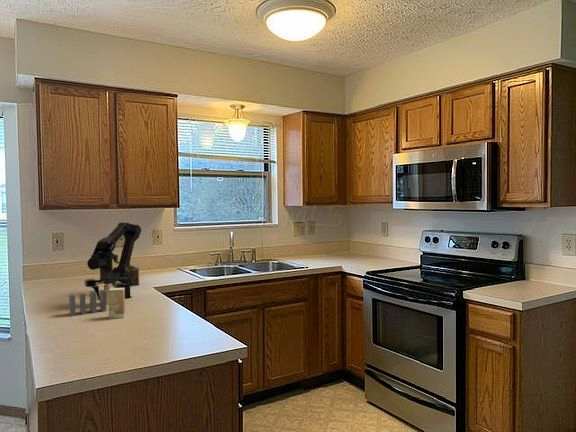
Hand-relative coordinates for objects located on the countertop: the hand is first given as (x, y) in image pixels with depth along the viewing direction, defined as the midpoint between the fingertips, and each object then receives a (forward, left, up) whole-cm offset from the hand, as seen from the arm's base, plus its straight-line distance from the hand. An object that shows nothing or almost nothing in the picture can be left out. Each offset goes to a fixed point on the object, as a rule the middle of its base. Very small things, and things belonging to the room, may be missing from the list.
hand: (107, 298), depth 214 cm
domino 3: (+8, +12, -3) cm, 15 cm away
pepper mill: (-20, -46, -3) cm, 50 cm away
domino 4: (+4, +12, -3) cm, 13 cm away
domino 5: (0, 0, -3) cm, 3 cm away
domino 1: (+17, +12, -3) cm, 21 cm away
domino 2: (+13, +12, -3) cm, 18 cm away
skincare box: (+2, +28, -3) cm, 28 cm away
